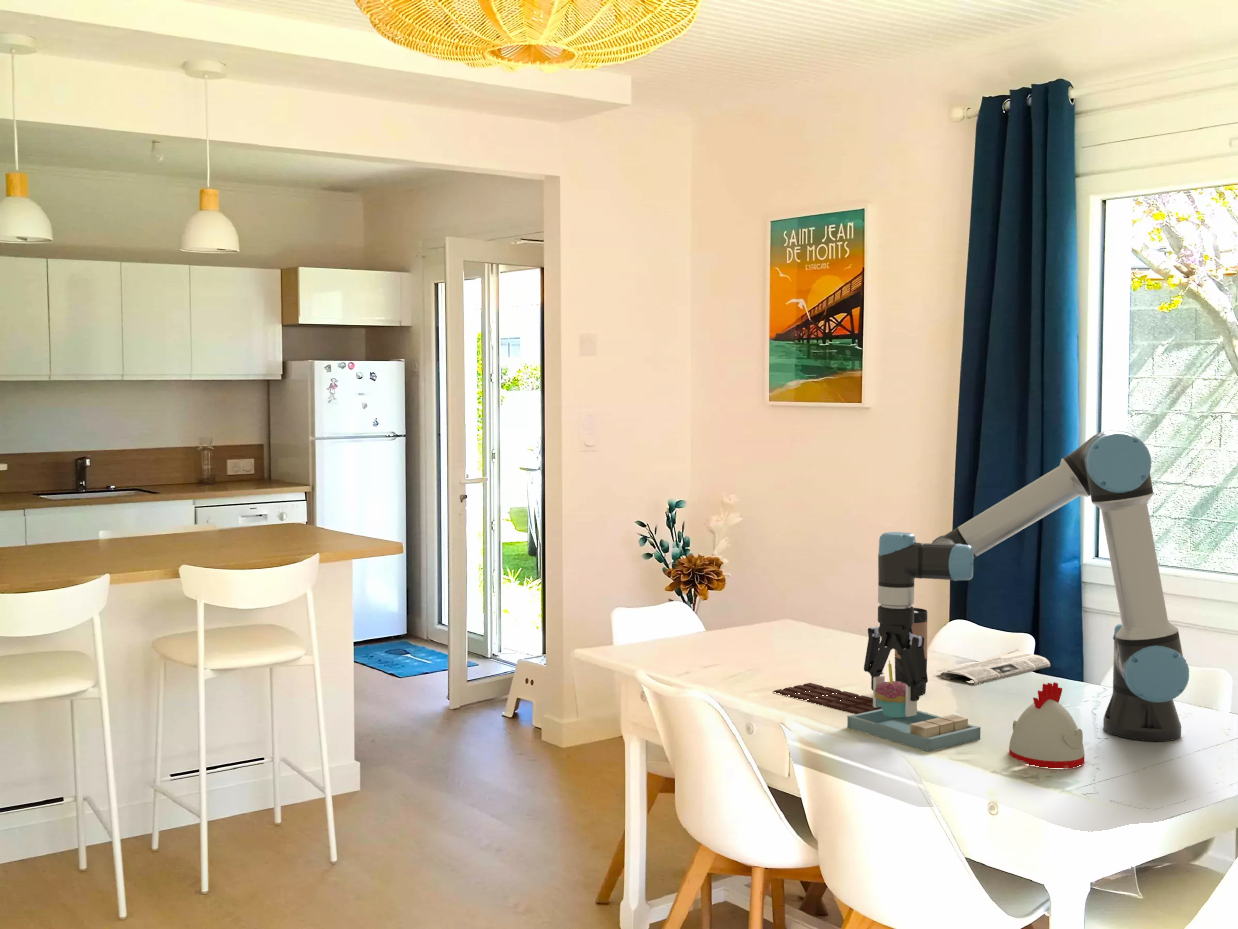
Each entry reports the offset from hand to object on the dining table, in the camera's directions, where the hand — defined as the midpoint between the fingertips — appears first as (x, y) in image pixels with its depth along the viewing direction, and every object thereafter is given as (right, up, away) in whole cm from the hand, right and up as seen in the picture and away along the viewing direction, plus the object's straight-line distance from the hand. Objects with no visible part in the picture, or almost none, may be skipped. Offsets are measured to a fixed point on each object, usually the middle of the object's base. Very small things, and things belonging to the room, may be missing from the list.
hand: (894, 710), depth 253 cm
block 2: (+7, -4, -10) cm, 13 cm away
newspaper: (+39, -2, +57) cm, 69 cm away
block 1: (+3, -4, -12) cm, 13 cm away
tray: (+3, -4, -4) cm, 7 cm away
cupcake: (0, -1, 0) cm, 1 cm away
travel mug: (+12, -3, +34) cm, 36 cm away
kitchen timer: (+25, -6, -20) cm, 33 cm away
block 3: (+11, -4, -7) cm, 13 cm away
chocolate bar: (-8, -4, +27) cm, 29 cm away
